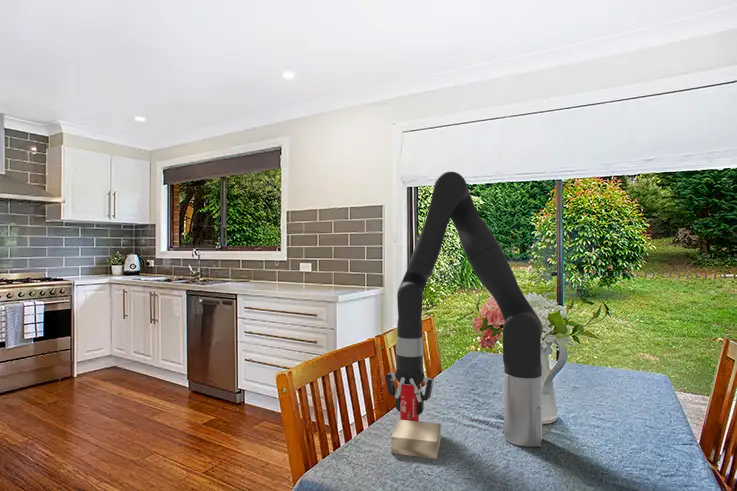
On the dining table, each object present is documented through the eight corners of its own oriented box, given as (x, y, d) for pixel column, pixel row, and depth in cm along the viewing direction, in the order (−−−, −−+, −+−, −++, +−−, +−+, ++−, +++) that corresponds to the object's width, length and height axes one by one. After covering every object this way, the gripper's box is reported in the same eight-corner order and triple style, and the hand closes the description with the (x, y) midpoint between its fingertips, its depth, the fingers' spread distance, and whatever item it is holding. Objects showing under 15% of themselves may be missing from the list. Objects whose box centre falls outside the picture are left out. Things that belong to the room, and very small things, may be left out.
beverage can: (417, 428, 121) (418, 385, 121) (399, 427, 122) (399, 384, 122) (419, 421, 126) (419, 379, 126) (401, 420, 127) (401, 378, 127)
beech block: (440, 439, 115) (440, 423, 115) (436, 458, 104) (436, 441, 104) (399, 434, 117) (399, 419, 117) (391, 453, 107) (391, 436, 107)
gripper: (438, 352, 125) (437, 412, 125) (390, 347, 131) (390, 404, 131) (430, 358, 118) (430, 421, 118) (381, 352, 124) (380, 413, 124)
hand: (409, 412), depth 124 cm, fingers closed on beverage can, 5 cm apart
